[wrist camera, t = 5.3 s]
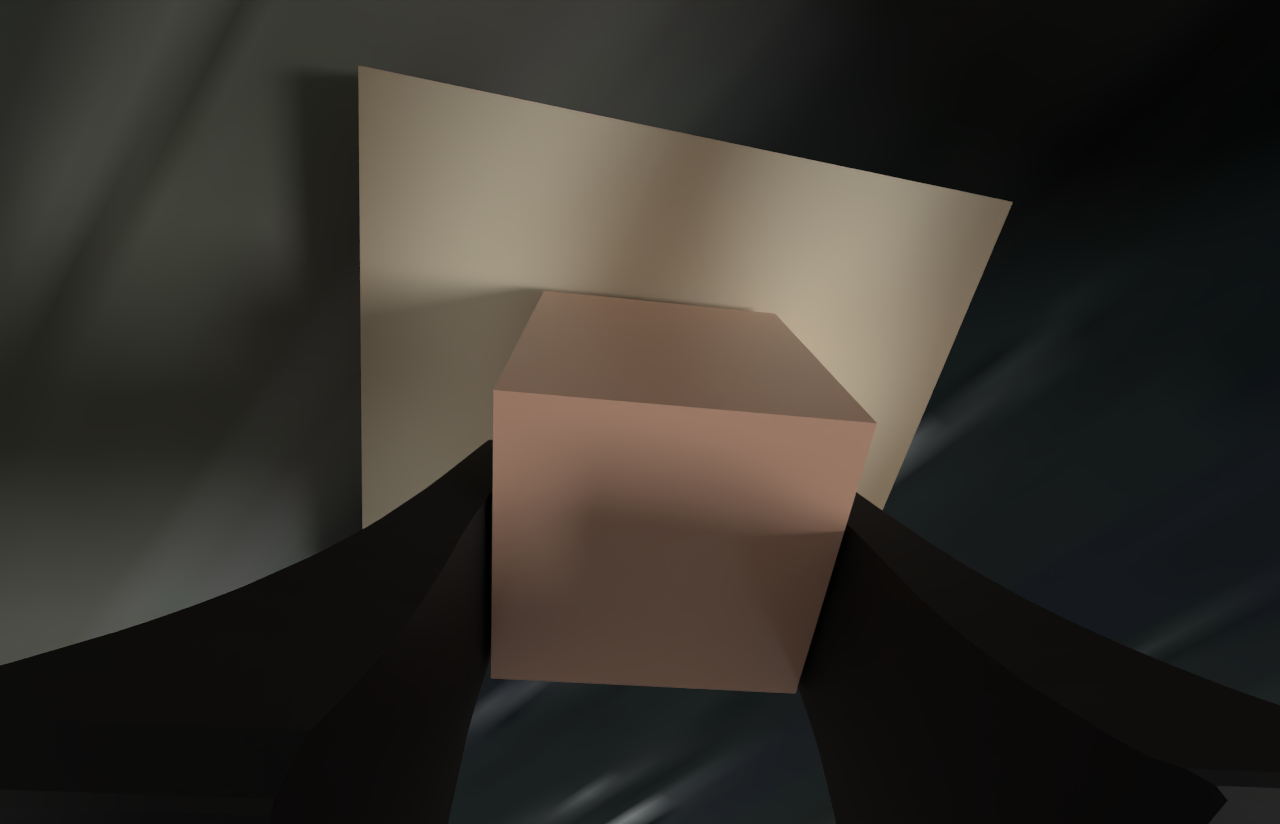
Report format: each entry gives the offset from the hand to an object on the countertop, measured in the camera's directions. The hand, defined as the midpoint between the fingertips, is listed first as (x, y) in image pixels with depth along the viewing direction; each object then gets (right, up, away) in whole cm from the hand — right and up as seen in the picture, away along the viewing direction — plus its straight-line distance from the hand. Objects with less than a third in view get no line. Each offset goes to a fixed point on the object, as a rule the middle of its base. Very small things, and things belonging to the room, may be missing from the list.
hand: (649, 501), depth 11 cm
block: (0, +2, +2) cm, 2 cm away
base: (0, +2, +4) cm, 5 cm away
